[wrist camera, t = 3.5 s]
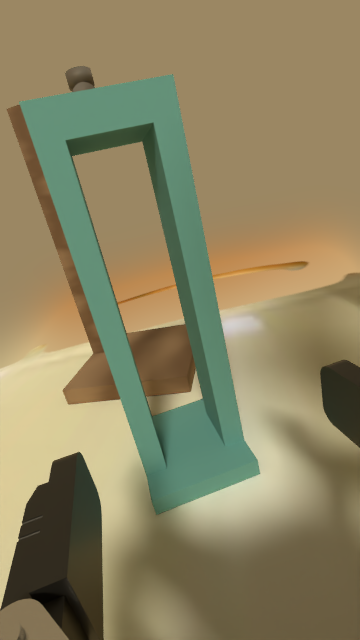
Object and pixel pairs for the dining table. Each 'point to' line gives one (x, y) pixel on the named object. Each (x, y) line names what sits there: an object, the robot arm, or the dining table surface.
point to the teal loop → (188, 267)
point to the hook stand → (95, 376)
